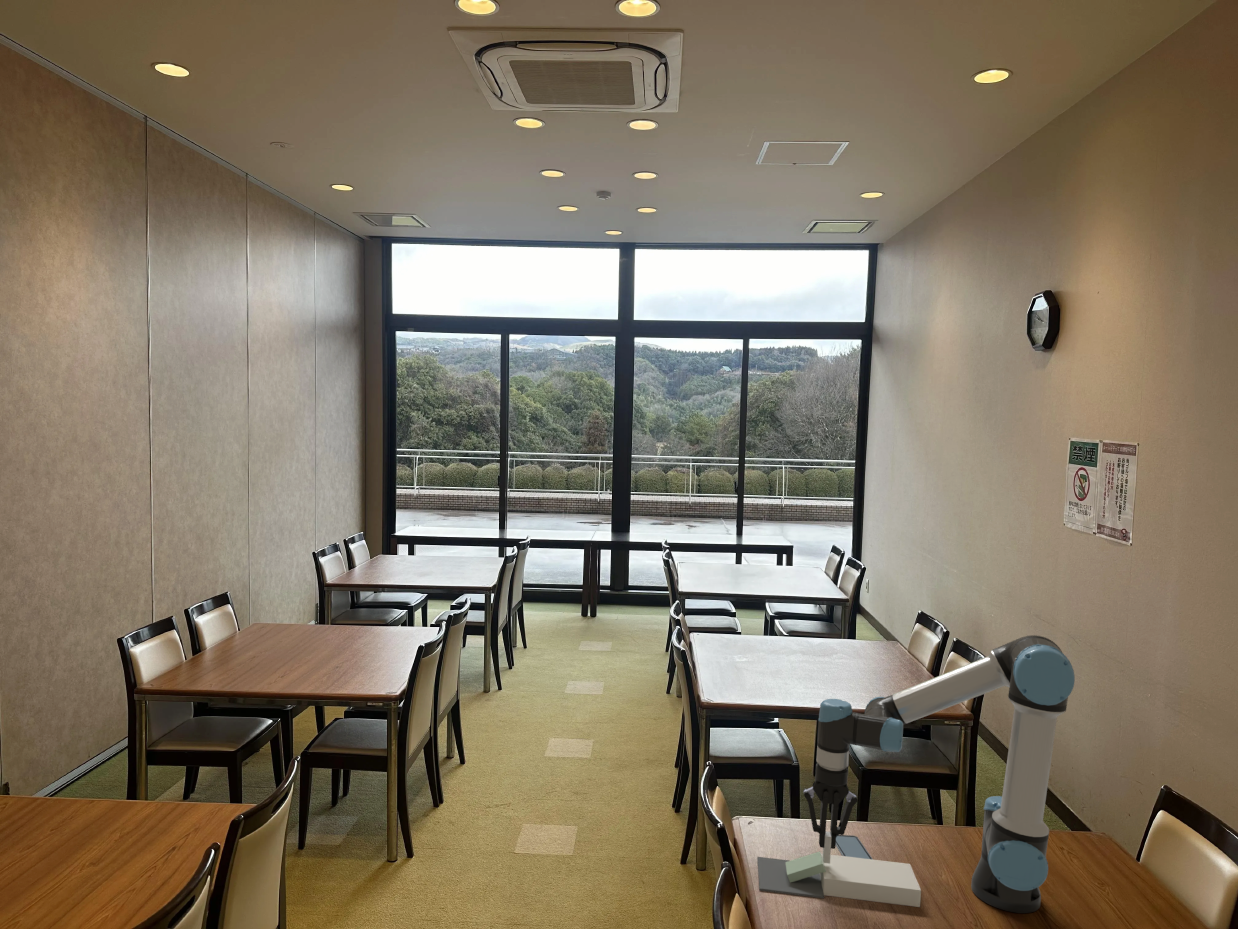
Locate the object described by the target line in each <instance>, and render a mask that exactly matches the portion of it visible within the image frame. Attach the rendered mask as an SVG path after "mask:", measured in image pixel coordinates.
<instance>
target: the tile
mask: <svg viewBox="0 0 1238 929" xmlns="http://www.w3.org/2000/svg"><path fill="white" fill-rule="evenodd" d="M821 853H822V852H821V851H817V852H814V853H811V854H808V855H804V856H800V857H798V858H794V859H791V860H790V861H788V862H786V870H787V876H788V878H789V881H790V883H791V882H794V881H797V880H800V879H804V878H807V877H810V876H813V875H816V874H819V873H823V872H826V870H825V866H824V862H823V858H822V855H821Z"/></svg>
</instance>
